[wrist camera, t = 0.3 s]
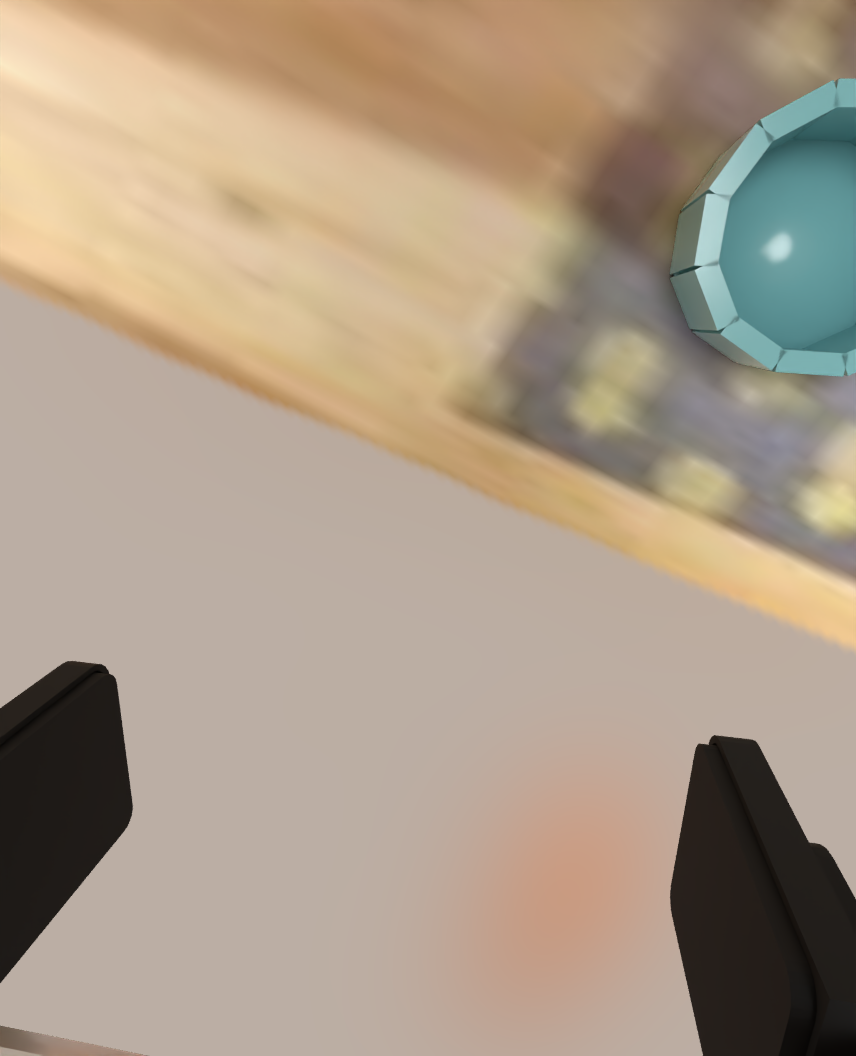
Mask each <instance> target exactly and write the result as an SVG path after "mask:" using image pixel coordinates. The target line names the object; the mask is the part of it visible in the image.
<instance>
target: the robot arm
mask: <svg viewBox="0 0 856 1056" xmlns="http://www.w3.org/2000/svg"><path fill="white" fill-rule="evenodd" d="M132 810H133V805H132V796H131V789H130V781H129V773H128V766H127V758H126V750H125V743H124V735H123V727H122V720H121V712H120V704H119V696H118V689H117V682H116V679H115V677H114V676H113V675H111V674H109V671H108V670H107V668H106V667H105V666H103V665H102V664H93V663H85V662H76V661H67V662H65V663H63V664H61V665H60V666H59V667H57V668H56V669H55V670H53V671H52V672H50V673H49V674H47V675H46V676H45V677H43V678H42V679H40V680H39V681H38V682H36V683H35V684H34V685H32V686H31V687H29V688H28V689H27V690H25V691H24V692H22V693H21V694H20V695H18V696H17V697H15V698H14V699H13V700H11V701H10V702H9V703H7V704H6V705H4V706H3V707H2V708H0V983H1V982H2V980H3V979H4V978H5V977H6V976H7V974H8V973H9V972H10V971H11V969H12V968H13V967H14V966H15V965H16V963H17V962H18V961H19V960H20V958H21V957H22V956H23V955H24V953H25V952H26V951H27V950H28V949H29V947H30V946H31V945H32V943H33V942H34V941H35V940H36V939H37V938H38V936H39V935H40V934H41V933H42V931H43V930H44V929H45V928H46V926H47V925H48V924H49V922H51V920H52V919H53V918H54V917H55V915H56V914H57V913H58V912H59V911H60V909H61V908H62V907H63V906H64V904H65V903H66V902H67V901H68V899H69V898H70V897H71V896H72V895H73V893H74V892H75V891H76V890H77V888H78V887H79V886H80V885H81V883H82V882H83V881H84V880H85V879H86V877H87V876H88V875H89V874H90V872H91V871H92V870H93V869H94V868H95V866H96V865H97V864H98V863H99V861H100V860H101V859H102V858H103V857H104V855H105V854H106V852H108V850H109V849H110V848H111V847H112V845H113V844H114V843H115V842H116V841H117V839H118V838H119V837H120V836H121V834H122V833H123V832H124V831H125V829H126V828H127V826H128V824H129V821H130V819H131V816H132ZM670 900H671V912H672V917H673V922H674V926H675V931H676V935H677V940H678V944H679V949H680V953H681V957H682V962H683V967H684V971H685V976H686V980H687V985H688V989H689V994H690V998H691V1002H692V1007H693V1012H694V1016H695V1021H696V1025H697V1030H698V1034H699V1039H700V1043H701V1048H702V1052H703V1056H856V899H855V897H854V895H853V893H852V892H851V890H850V888H849V886H848V884H847V882H846V881H845V879H844V877H843V875H842V873H841V871H840V870H839V868H838V866H837V864H836V862H835V860H834V859H833V857H832V856H831V854H830V853H829V851H828V850H827V849H826V848H825V847H823V846H822V845H820V844H816V843H809V842H808V840H807V838H806V836H805V834H804V832H803V830H802V828H801V826H800V824H799V822H798V821H797V819H796V817H795V815H794V813H793V811H792V809H791V807H790V805H789V803H788V801H787V799H786V797H785V795H784V793H783V791H782V790H781V788H780V786H779V784H778V782H777V780H776V778H775V776H774V774H773V772H772V770H771V768H770V766H769V765H768V762H767V760H766V759H765V757H764V755H763V753H762V751H761V749H760V747H759V745H758V744H757V742H756V741H754V740H750V739H742V738H733V737H724V736H716V735H714V736H712V737H711V739H710V742H709V745H706V744H698V745H697V747H696V750H695V754H694V760H693V766H692V771H691V777H690V782H689V788H688V794H687V799H686V805H685V811H684V816H683V821H682V827H681V833H680V838H679V844H678V849H677V855H676V861H675V866H674V872H673V878H672V883H671V891H670ZM0 1056H147V1055H142V1054H137V1053H132V1052H128V1051H123V1050H117V1049H112V1048H108V1047H103V1046H98V1045H93V1044H89V1043H83V1042H79V1041H74V1040H69V1039H64V1038H59V1037H54V1036H49V1035H44V1034H39V1033H34V1032H29V1031H24V1030H19V1029H14V1028H9V1027H4V1026H0Z"/></svg>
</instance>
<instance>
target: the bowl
mask: <svg viewBox="0 0 856 1056" xmlns="http://www.w3.org/2000/svg"><path fill="white" fill-rule="evenodd" d="M681 211H682V213H681V214H679V218H678V224H677V230H676V236H675V243H674V249H673V255H672V261H671V268H670V274H673V277H671V278H670V280H671V283H672V285H673V288H674V290H675V293H676V295H677V298H678V301H679V303H680V306H681V308H682V311H683V313H684V316H685V319H686V321H687V324H688V326H689V329H694V330H693V331H692V332H693V333H694V334H695V335H697V336H698V337H700V338H701V339H702V340H704V341H705V342H707V343H708V344H709V345H711V346H712V347H714V348H715V349H716V350H718V351H719V352H721V353H722V354H723V355H725V356H726V357H728V358H729V359H731V360H732V361H733V362H735V363H739V364H741V365H746V366H751V367H755V368H760V369H764V370H769V371H773V372H784V373H798V374H813V375H828V376H842V377H843V375H847V376H849V375H851V374H853V373H856V79H838V80H837V81H835V82H834V80H833V81H831V82H829V83H827V84H825V85H823V86H821V87H820V88H818V89H816V90H814V91H812V92H810V93H809V94H807V95H805V96H803V97H801V98H799V99H798V100H796V101H794V102H792V103H790V104H788V105H786V106H785V107H783V108H781V109H779V110H777V111H775V112H774V113H772V114H770V115H768V116H766V117H764V118H762V119H761V120H759V121H758V122H757V123H756V124H755V125H754V126H753V127H752V128H751V129H749V130H748V131H747V132H746V133H745V134H744V135H743V136H742V137H741V138H740V139H738V140H737V141H736V142H735V143H734V144H733V145H732V146H731V147H730V148H729V149H728V150H726V151H725V152H724V153H723V154H722V155H721V156H720V157H719V158H718V160H717V161H716V162H715V164H714V165H713V166H712V168H711V169H710V171H709V172H708V173H707V175H706V176H705V178H704V179H703V180H702V182H701V183H700V184H699V186H698V187H697V189H696V190H695V191H694V193H693V194H692V196H691V197H690V198H689V200H688V201H687V203H686V204H685V205H684V207H683V208H682V209H681Z"/></svg>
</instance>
